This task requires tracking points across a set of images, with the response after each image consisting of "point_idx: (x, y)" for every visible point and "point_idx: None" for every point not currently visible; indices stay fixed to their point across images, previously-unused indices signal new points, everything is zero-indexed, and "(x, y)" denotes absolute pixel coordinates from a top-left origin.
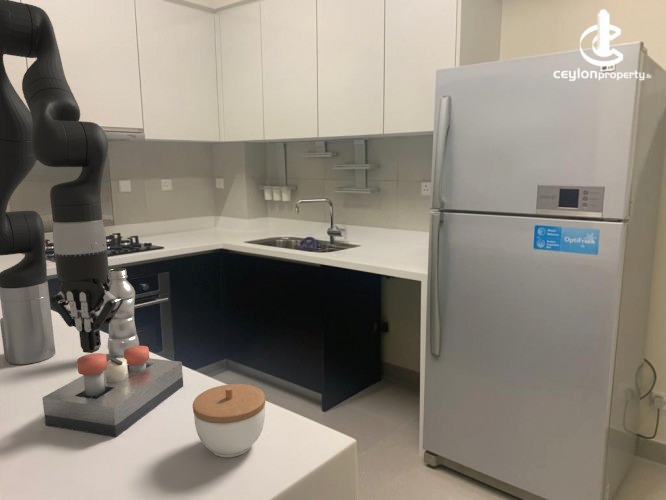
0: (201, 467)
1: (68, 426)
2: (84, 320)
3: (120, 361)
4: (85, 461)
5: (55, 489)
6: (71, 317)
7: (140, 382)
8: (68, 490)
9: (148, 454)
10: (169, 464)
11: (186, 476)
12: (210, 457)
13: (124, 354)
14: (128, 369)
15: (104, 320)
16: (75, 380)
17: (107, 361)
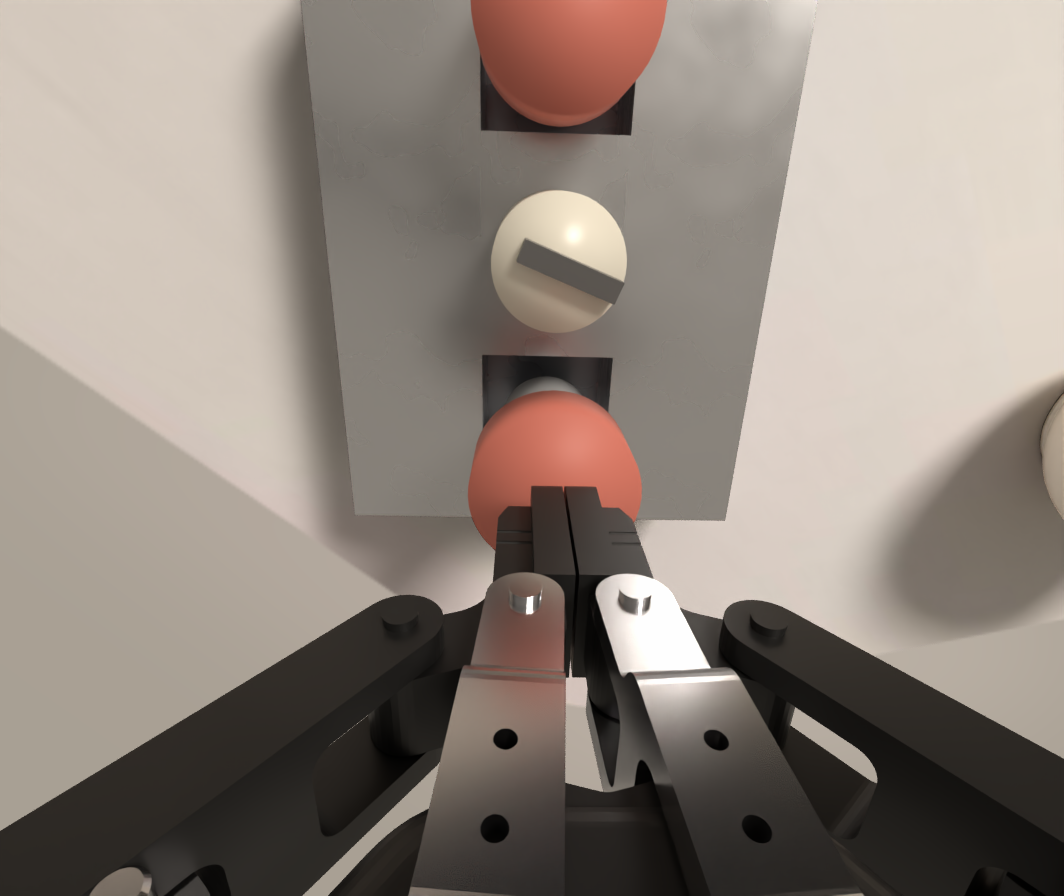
0: (1026, 536)
1: None
2: (604, 785)
3: (609, 282)
4: (672, 584)
5: None
6: (402, 778)
7: (711, 272)
8: None
9: (843, 519)
10: (926, 545)
11: (991, 576)
12: (1045, 491)
13: (515, 98)
14: None
15: (863, 787)
16: (343, 332)
17: (495, 267)
